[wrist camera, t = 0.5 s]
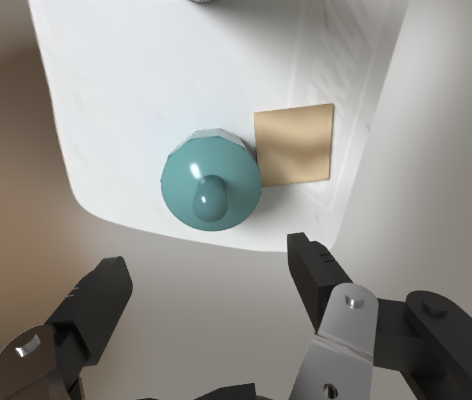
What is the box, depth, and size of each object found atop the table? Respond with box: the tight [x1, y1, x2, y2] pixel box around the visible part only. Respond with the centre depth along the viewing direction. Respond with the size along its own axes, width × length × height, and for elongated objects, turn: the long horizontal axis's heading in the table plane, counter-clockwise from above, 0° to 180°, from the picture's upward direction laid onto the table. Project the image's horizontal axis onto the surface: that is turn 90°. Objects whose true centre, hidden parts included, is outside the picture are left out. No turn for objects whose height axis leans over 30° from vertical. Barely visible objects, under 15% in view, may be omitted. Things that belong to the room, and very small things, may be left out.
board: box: [254, 104, 333, 187], centre depth 32 cm, size 11×11×1 cm
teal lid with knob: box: [160, 128, 261, 231], centre depth 28 cm, size 12×12×13 cm
